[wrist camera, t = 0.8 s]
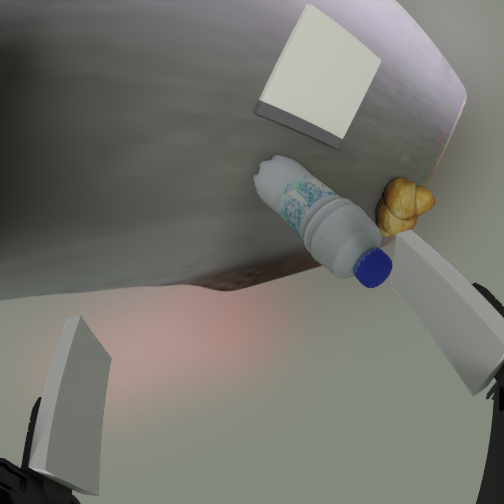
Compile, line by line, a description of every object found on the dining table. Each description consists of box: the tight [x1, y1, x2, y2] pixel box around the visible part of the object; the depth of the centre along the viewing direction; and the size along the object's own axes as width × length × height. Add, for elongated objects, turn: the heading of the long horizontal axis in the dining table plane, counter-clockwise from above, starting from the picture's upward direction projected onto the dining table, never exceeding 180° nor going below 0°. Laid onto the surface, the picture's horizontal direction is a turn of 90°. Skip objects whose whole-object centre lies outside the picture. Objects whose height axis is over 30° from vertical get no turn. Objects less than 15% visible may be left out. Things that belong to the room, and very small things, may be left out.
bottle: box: [253, 155, 392, 288], centre depth 30 cm, size 7×7×20 cm
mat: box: [254, 4, 381, 149], centre depth 31 cm, size 14×15×1 cm
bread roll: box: [376, 178, 435, 237], centre depth 50 cm, size 13×10×8 cm
